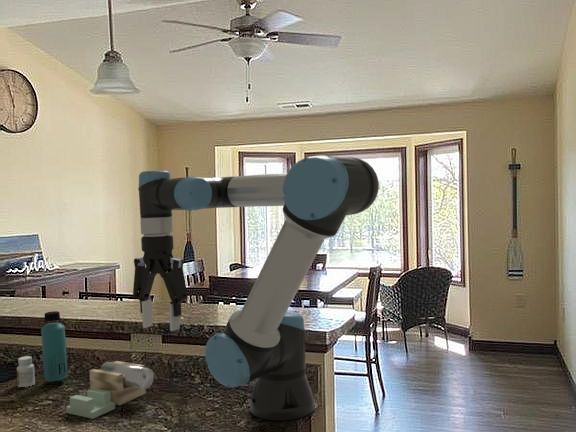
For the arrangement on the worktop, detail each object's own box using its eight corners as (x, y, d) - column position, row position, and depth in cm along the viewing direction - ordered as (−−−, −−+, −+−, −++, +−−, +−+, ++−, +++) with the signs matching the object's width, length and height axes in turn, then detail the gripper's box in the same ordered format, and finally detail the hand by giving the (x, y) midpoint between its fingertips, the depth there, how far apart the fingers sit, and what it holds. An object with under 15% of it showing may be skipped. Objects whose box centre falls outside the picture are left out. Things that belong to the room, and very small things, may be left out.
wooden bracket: (145, 393, 152) (144, 365, 152) (119, 405, 144) (118, 375, 144) (117, 388, 157) (116, 360, 156) (90, 399, 149) (89, 370, 148)
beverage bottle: (59, 386, 160) (56, 314, 159) (38, 386, 161) (34, 314, 160) (73, 379, 166) (69, 309, 165) (52, 378, 167) (48, 309, 166)
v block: (115, 408, 142) (114, 392, 142) (92, 419, 136) (91, 402, 136) (89, 402, 146) (88, 387, 146) (66, 412, 140) (65, 396, 140)
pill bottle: (20, 383, 164) (19, 356, 164) (37, 382, 164) (35, 355, 164) (15, 388, 160) (13, 360, 159) (32, 387, 160) (30, 359, 160)
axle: (154, 385, 147) (153, 366, 147) (140, 391, 143) (139, 371, 143) (113, 378, 154) (113, 359, 154) (99, 384, 150) (98, 364, 150)
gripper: (201, 233, 139) (205, 328, 140) (136, 233, 149) (140, 321, 150) (180, 236, 133) (185, 335, 134) (114, 235, 143) (118, 327, 144)
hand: (161, 328), depth 142 cm, fingers open, 8 cm apart
